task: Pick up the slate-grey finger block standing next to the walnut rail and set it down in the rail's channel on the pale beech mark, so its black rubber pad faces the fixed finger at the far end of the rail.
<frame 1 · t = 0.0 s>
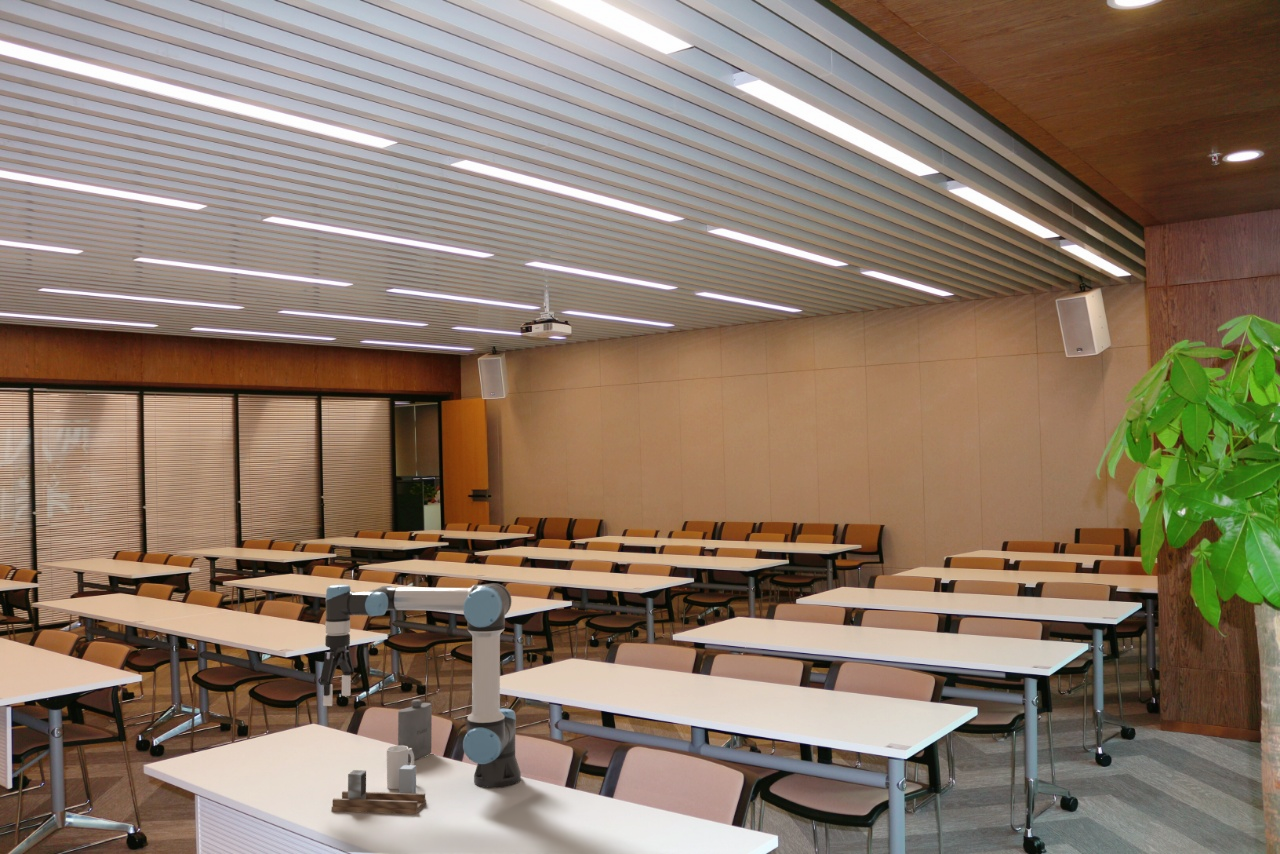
hand: (337, 700, 306), 28 cm above the table, fingers open, 13 cm apart
flask: (415, 757, 339), on the table
finger block: (407, 796, 298), on the table
mug: (401, 785, 309), on the table
rail: (379, 807, 288), on the table
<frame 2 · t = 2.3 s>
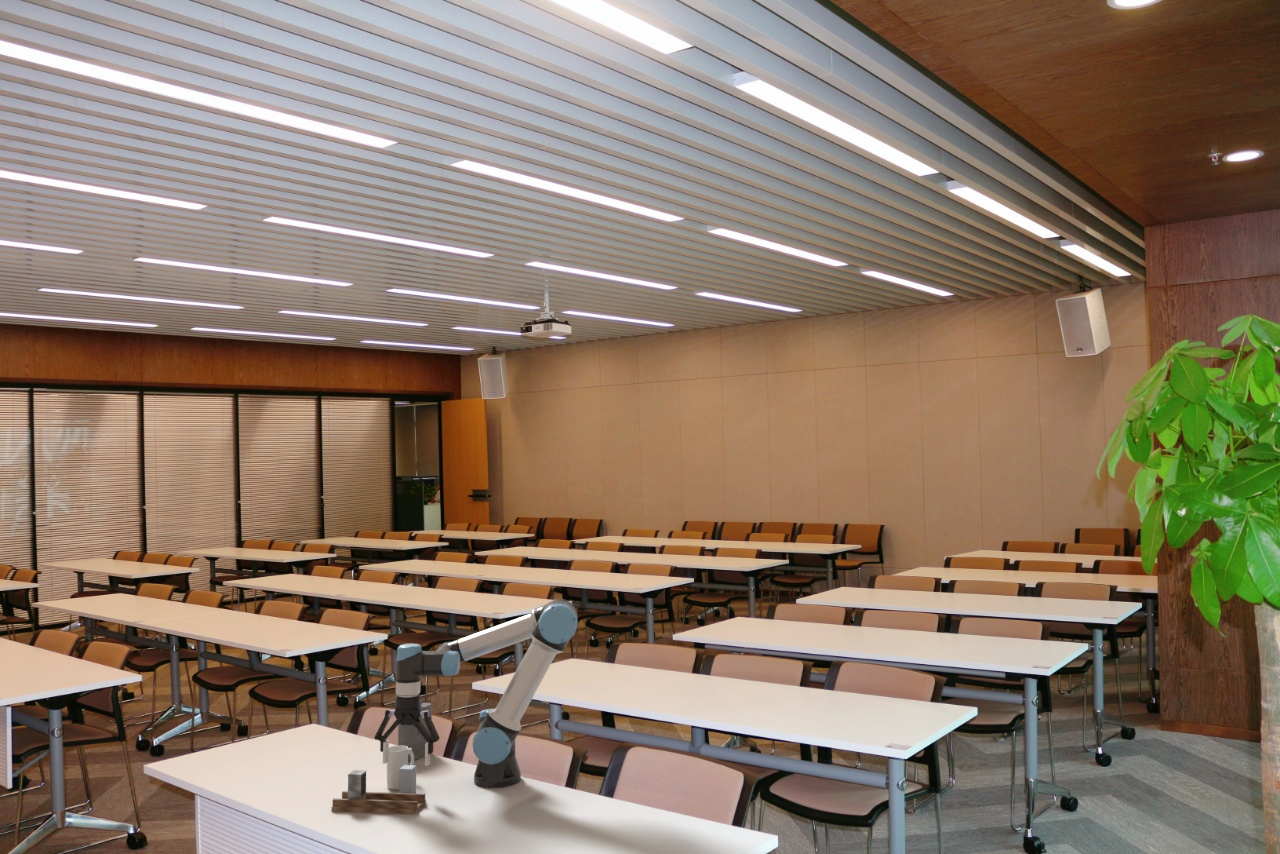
hand: (406, 763, 298), 10 cm above the table, fingers open, 13 cm apart
nothing on the table moved.
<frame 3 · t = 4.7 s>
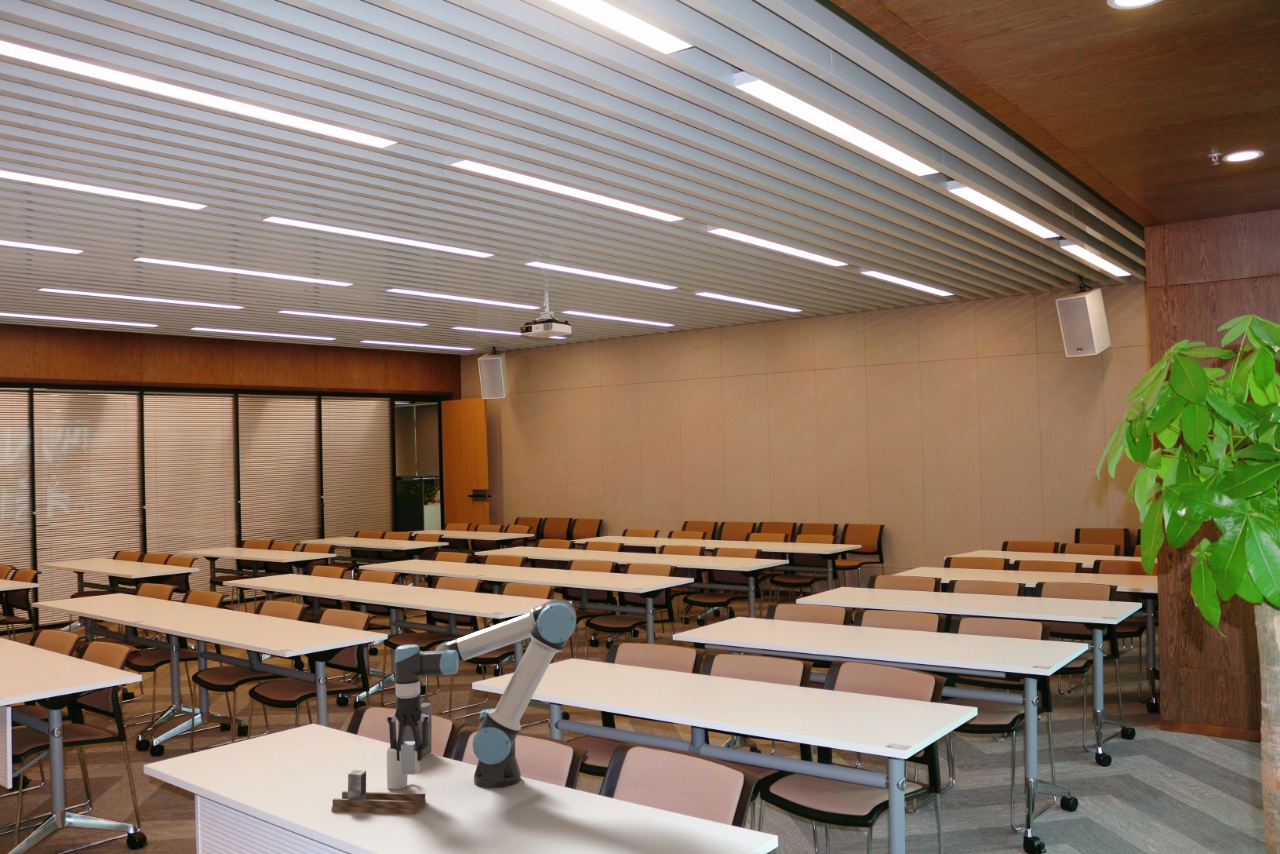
hand: (410, 771, 298), 8 cm above the table, fingers closed on finger block, 4 cm apart
finger block: (410, 772, 298), point 7 cm above the table, touching gripper
everything else where it was.
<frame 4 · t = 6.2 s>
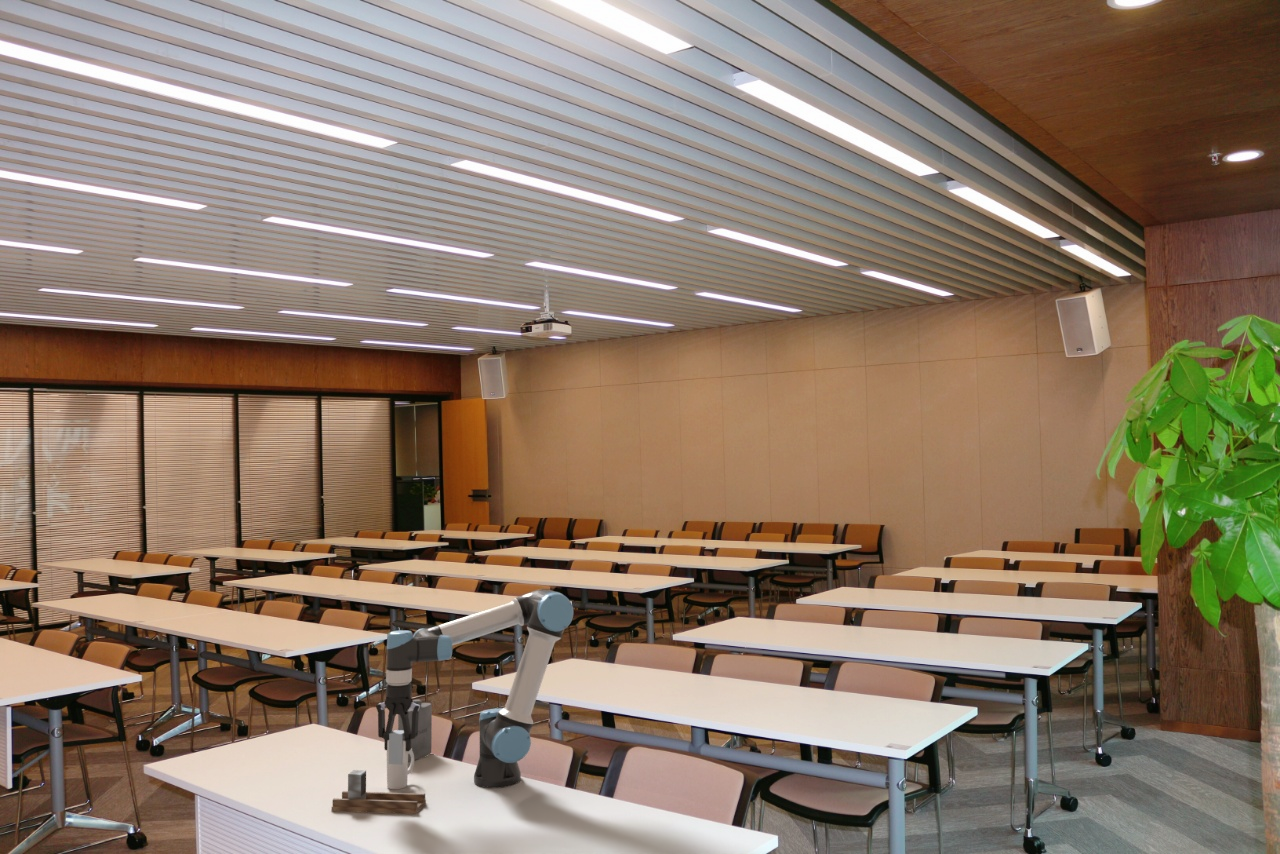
hand: (397, 761, 288), 14 cm above the table, fingers closed on finger block, 4 cm apart
finger block: (397, 762, 288), point 14 cm above the table, touching gripper
everything else where it was.
when the fingers open (2 cm above the table, at t = 8.0 s): finger block stays where it is, resting on rail.
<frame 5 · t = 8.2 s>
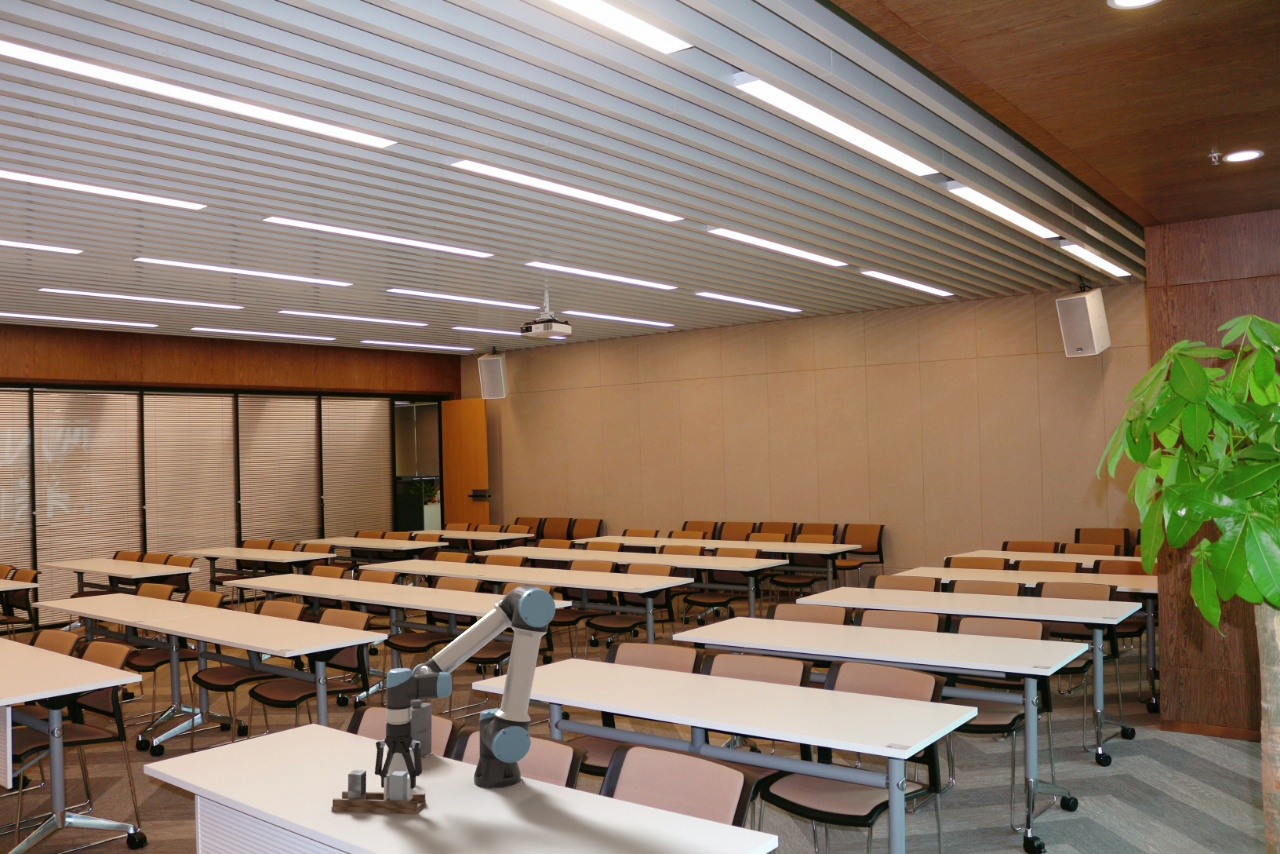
hand: (398, 798, 287), 3 cm above the table, fingers open, 7 cm apart
finger block: (398, 803, 287), point 1 cm above the table, touching rail
everything else where it was.
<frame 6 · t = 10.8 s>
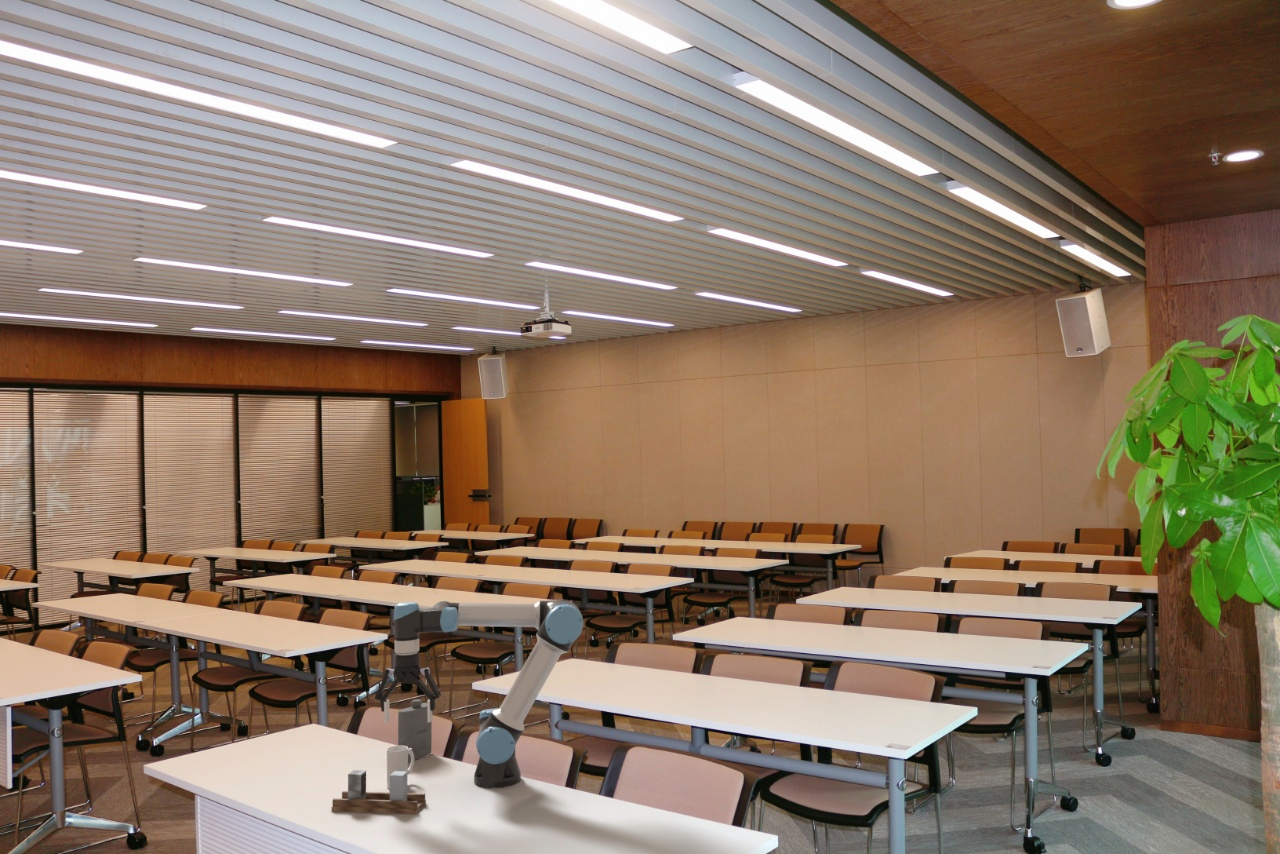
hand: (408, 721, 297), 23 cm above the table, fingers open, 13 cm apart
nothing on the table moved.
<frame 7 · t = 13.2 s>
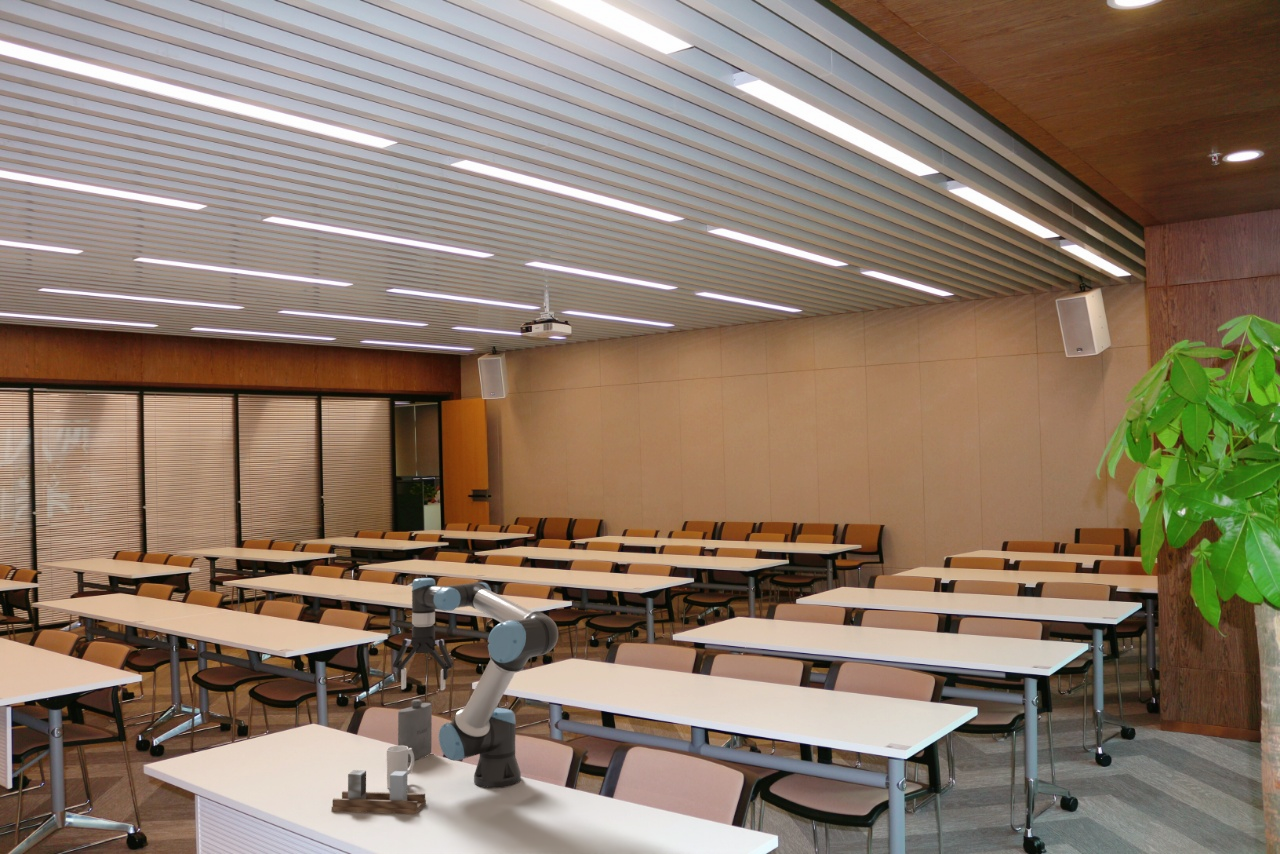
hand: (423, 689, 319), 29 cm above the table, fingers open, 13 cm apart
nothing on the table moved.
at the end: finger block 0.0 cm from the target spot on the rail, point 1.3 cm above the rail's base; finger block tilted 0°; the gripper is holding nothing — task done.
